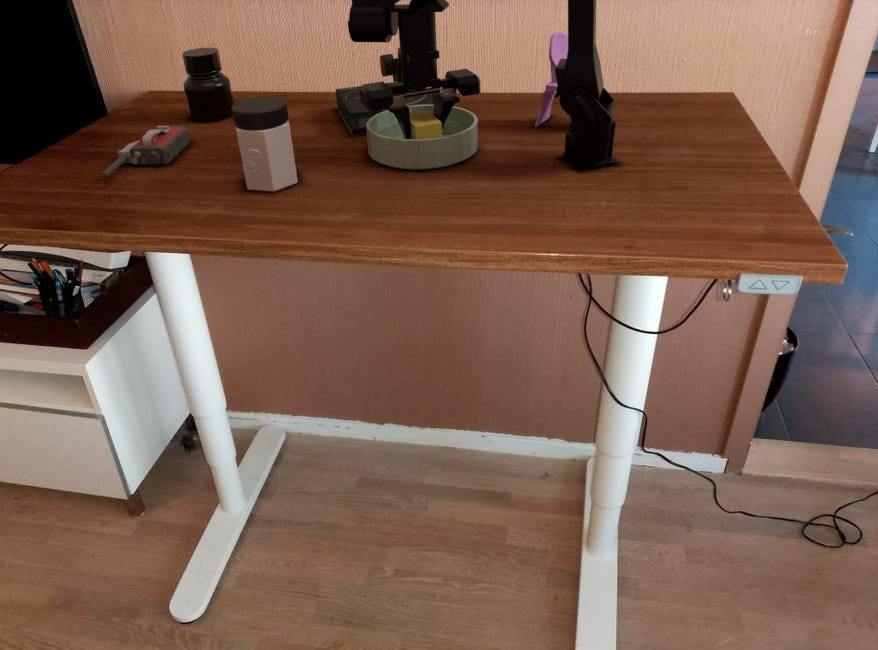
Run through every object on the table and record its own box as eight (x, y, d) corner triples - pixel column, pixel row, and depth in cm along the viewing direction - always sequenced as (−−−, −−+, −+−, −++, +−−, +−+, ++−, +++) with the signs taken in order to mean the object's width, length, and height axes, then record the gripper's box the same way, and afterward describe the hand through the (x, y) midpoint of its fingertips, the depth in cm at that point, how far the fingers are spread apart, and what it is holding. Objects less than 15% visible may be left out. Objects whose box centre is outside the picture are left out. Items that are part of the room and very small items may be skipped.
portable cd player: (353, 137, 128) (351, 114, 126) (337, 109, 142) (335, 89, 140) (442, 125, 131) (441, 103, 129) (418, 99, 145) (417, 79, 142)
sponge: (428, 139, 124) (427, 110, 121) (442, 152, 118) (441, 122, 115) (403, 143, 123) (401, 114, 120) (416, 157, 117) (415, 126, 114)
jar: (234, 189, 112) (218, 111, 105) (257, 170, 118) (244, 95, 111) (286, 193, 109) (274, 114, 102) (307, 173, 115) (297, 97, 108)
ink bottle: (216, 105, 149) (204, 44, 142) (246, 111, 145) (235, 48, 138) (179, 119, 143) (164, 55, 136) (209, 125, 138) (196, 60, 131)
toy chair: (580, 135, 123) (588, 41, 114) (531, 128, 127) (536, 37, 118) (596, 120, 128) (606, 30, 120) (550, 115, 132) (555, 27, 124)
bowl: (453, 127, 130) (453, 98, 127) (494, 160, 116) (495, 129, 113) (356, 142, 126) (353, 114, 123) (387, 179, 112) (384, 147, 109)
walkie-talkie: (149, 140, 133) (100, 183, 117) (143, 116, 130) (91, 156, 114) (194, 140, 132) (151, 182, 116) (189, 115, 129) (143, 156, 113)
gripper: (455, 25, 119) (456, 119, 128) (346, 40, 115) (356, 136, 124) (481, 38, 110) (481, 138, 119) (365, 55, 106) (374, 157, 115)
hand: (422, 142), depth 120 cm, fingers closed on sponge, 4 cm apart
